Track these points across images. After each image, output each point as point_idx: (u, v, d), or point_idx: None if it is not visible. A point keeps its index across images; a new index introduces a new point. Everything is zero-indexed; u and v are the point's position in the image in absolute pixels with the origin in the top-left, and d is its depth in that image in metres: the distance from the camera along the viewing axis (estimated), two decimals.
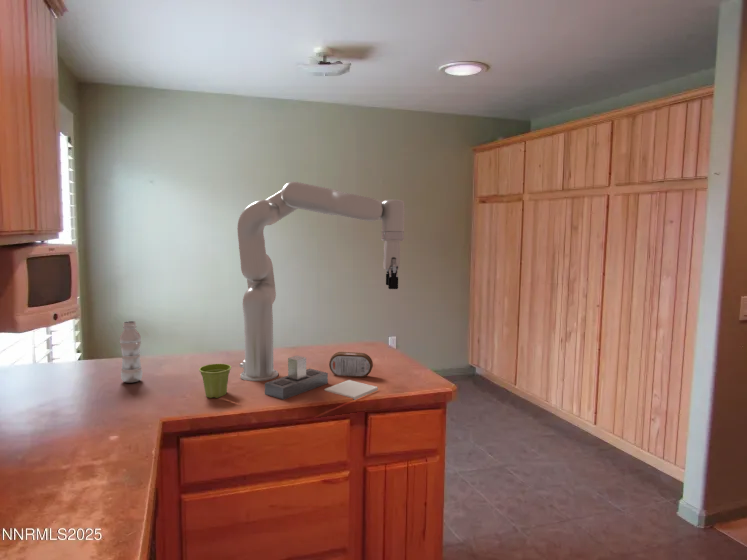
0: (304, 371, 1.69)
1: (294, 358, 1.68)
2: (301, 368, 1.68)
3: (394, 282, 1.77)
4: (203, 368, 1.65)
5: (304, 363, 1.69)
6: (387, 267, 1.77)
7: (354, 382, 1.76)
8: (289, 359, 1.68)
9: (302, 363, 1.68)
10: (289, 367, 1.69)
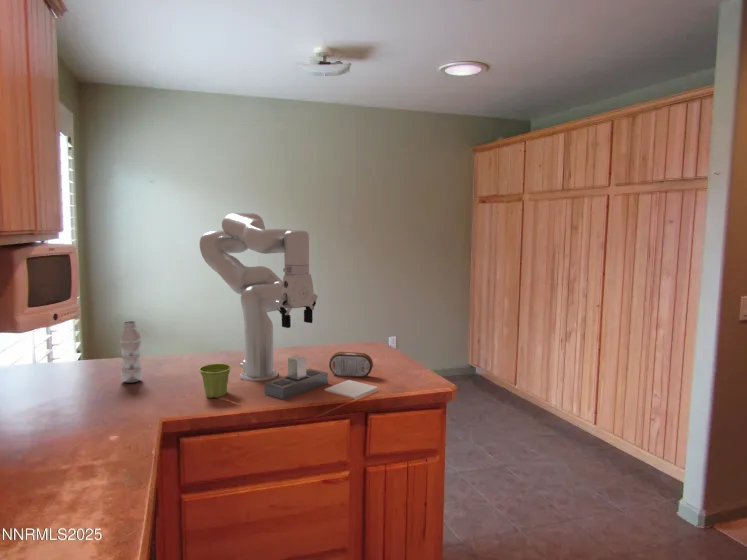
0: (304, 371, 1.69)
1: (294, 358, 1.68)
2: (301, 368, 1.68)
3: None
4: (203, 368, 1.65)
5: (304, 363, 1.69)
6: None
7: (354, 382, 1.76)
8: (289, 359, 1.68)
9: (302, 363, 1.68)
10: (289, 367, 1.69)
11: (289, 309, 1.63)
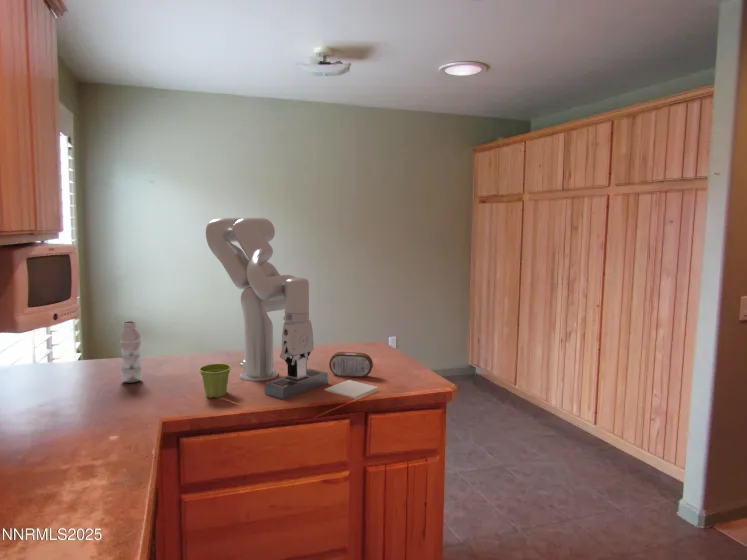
0: (304, 371, 1.69)
1: None
2: (301, 368, 1.68)
3: None
4: (203, 368, 1.65)
5: (304, 363, 1.69)
6: None
7: (354, 382, 1.76)
8: None
9: (302, 363, 1.68)
10: None
11: (293, 358, 1.66)
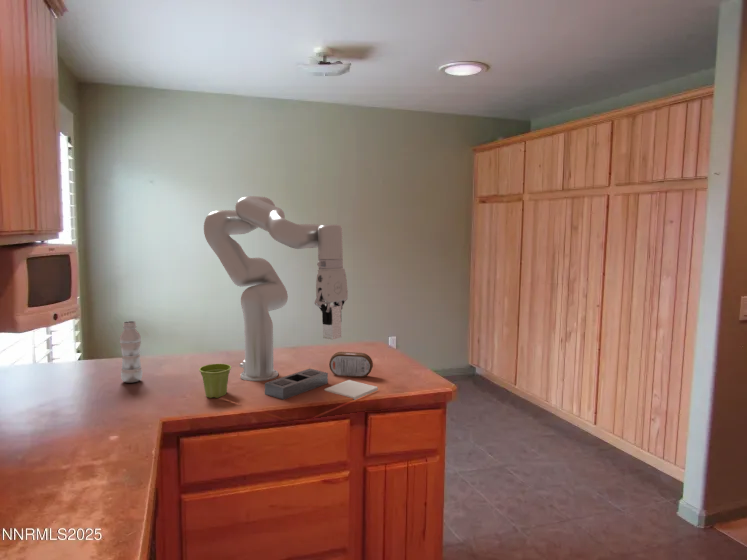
0: (339, 319, 1.67)
1: None
2: (336, 316, 1.66)
3: None
4: (203, 368, 1.65)
5: (339, 311, 1.67)
6: None
7: (354, 382, 1.76)
8: None
9: (337, 311, 1.66)
10: None
11: (328, 306, 1.64)
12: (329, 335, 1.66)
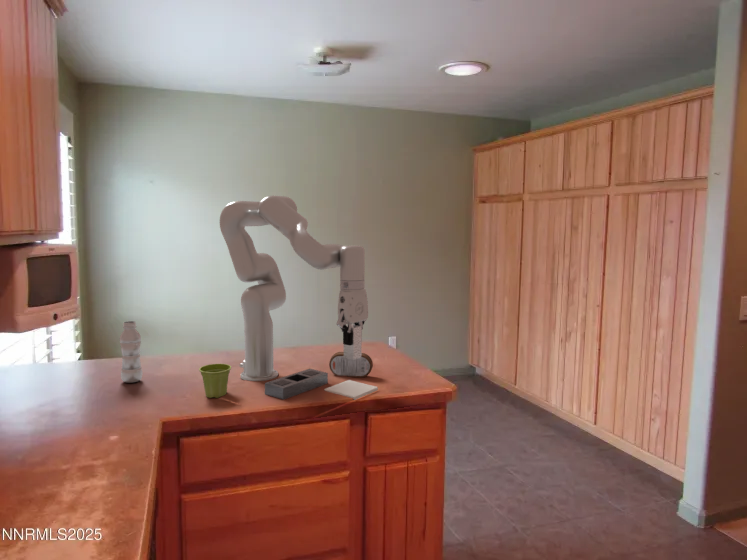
0: (359, 340, 1.68)
1: None
2: (357, 336, 1.67)
3: None
4: (203, 368, 1.65)
5: (359, 331, 1.67)
6: None
7: (354, 382, 1.76)
8: None
9: (358, 331, 1.67)
10: None
11: (350, 326, 1.64)
12: (350, 356, 1.67)
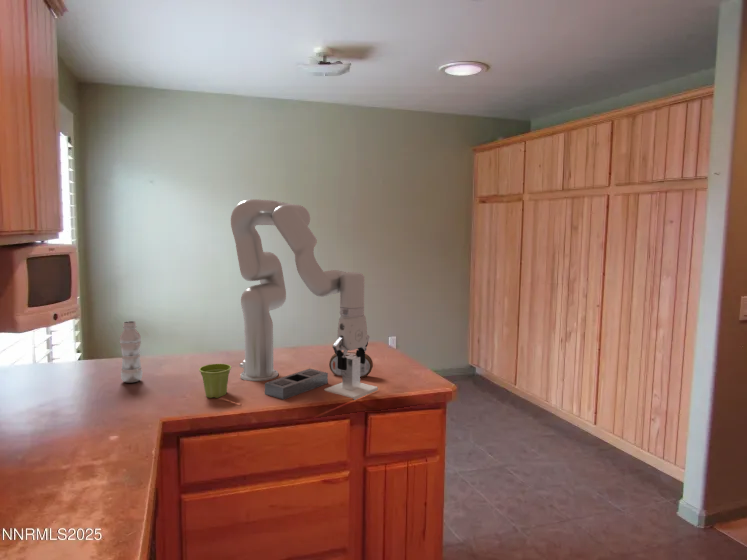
0: (358, 370, 1.69)
1: (349, 357, 1.68)
2: (356, 367, 1.68)
3: None
4: (203, 368, 1.65)
5: (358, 362, 1.69)
6: None
7: None
8: None
9: (357, 362, 1.68)
10: None
11: (345, 352, 1.64)
12: (348, 386, 1.68)
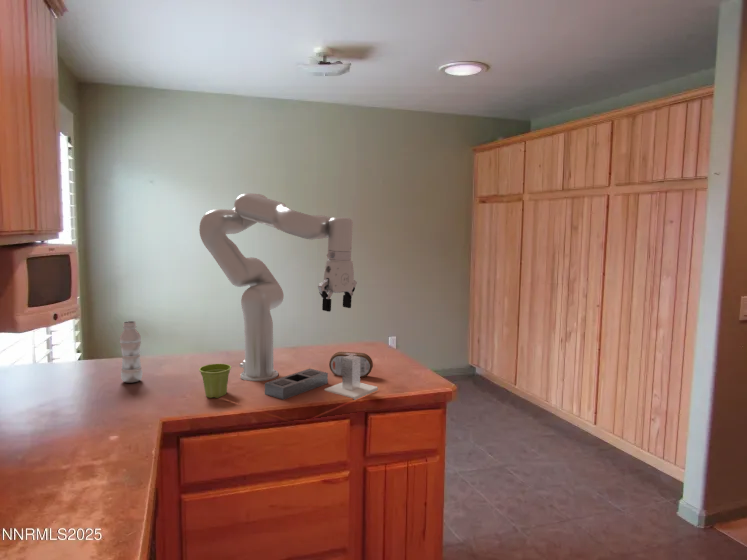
0: (358, 370, 1.69)
1: (349, 357, 1.68)
2: (356, 367, 1.68)
3: None
4: (203, 368, 1.65)
5: (358, 362, 1.69)
6: None
7: None
8: (344, 358, 1.68)
9: (357, 362, 1.68)
10: (343, 366, 1.68)
11: (330, 293, 1.68)
12: (348, 386, 1.68)
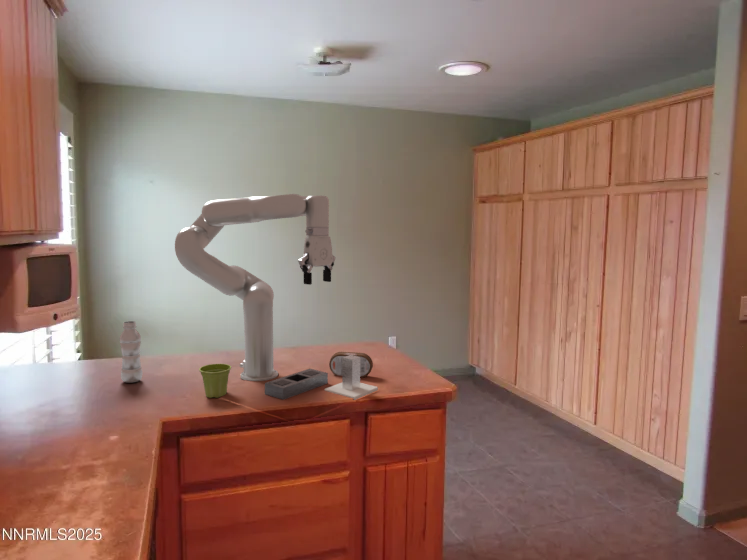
0: (358, 370, 1.69)
1: (349, 357, 1.68)
2: (356, 367, 1.68)
3: None
4: (203, 368, 1.65)
5: (358, 362, 1.69)
6: None
7: None
8: (344, 358, 1.68)
9: (357, 362, 1.68)
10: (343, 366, 1.68)
11: (310, 267, 1.78)
12: (348, 386, 1.68)
